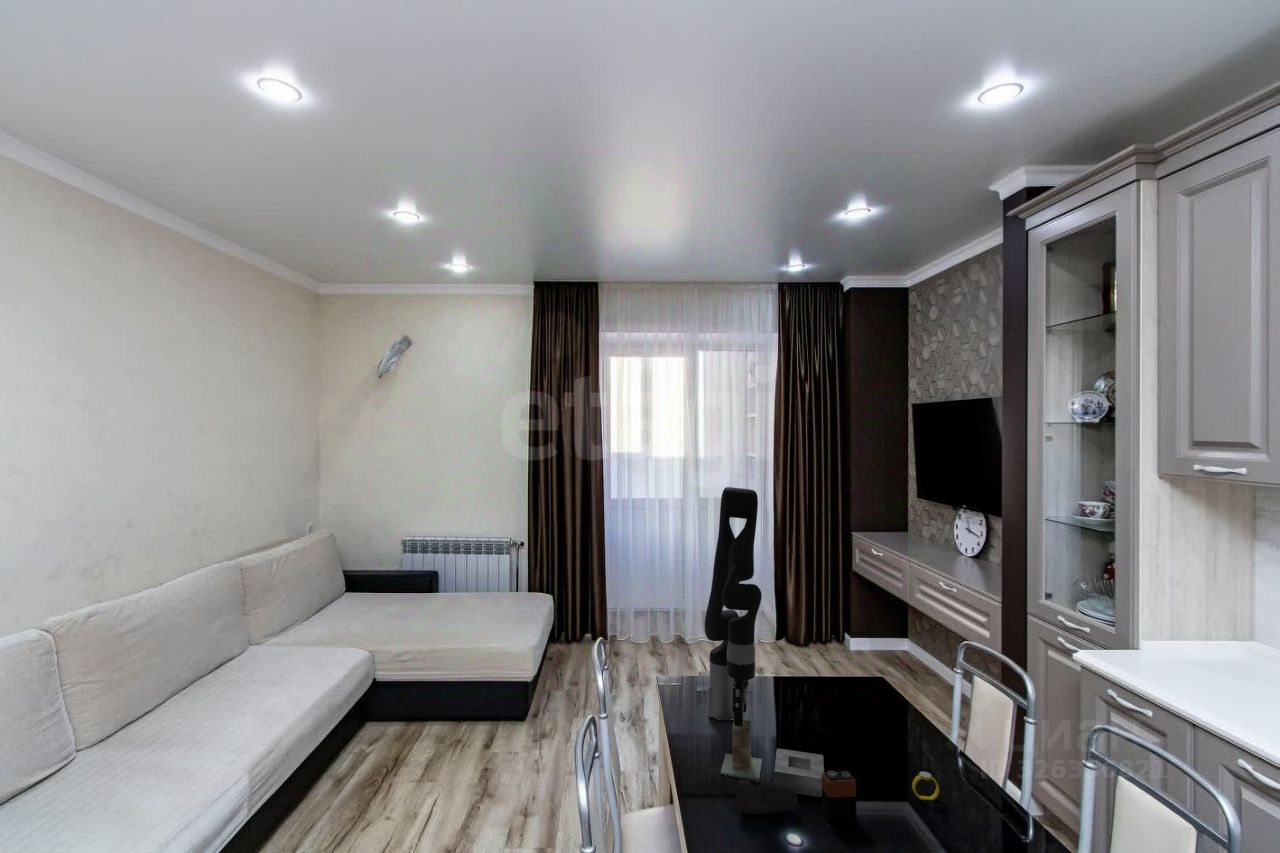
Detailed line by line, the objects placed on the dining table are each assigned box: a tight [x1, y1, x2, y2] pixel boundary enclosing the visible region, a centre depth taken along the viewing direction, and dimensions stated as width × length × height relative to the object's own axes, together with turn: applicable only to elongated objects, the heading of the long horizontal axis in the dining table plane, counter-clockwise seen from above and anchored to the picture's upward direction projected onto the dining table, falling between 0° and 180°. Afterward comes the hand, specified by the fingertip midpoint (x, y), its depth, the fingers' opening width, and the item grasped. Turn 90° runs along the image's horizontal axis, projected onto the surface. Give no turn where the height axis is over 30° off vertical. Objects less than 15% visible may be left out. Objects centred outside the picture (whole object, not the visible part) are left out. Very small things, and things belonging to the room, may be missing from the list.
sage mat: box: [720, 753, 763, 780], centre depth 157 cm, size 10×10×1 cm
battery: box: [821, 770, 857, 823], centre depth 137 cm, size 4×7×10 cm, turn 95°
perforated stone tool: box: [735, 779, 799, 816], centre depth 138 cm, size 15×5×7 cm, turn 90°
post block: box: [773, 748, 825, 798], centre depth 151 cm, size 12×12×4 cm
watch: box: [911, 771, 940, 801], centre depth 144 cm, size 6×3×6 cm, turn 84°
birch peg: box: [731, 719, 752, 771], centre depth 157 cm, size 4×4×11 cm
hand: (740, 718), depth 158 cm, fingers open, 8 cm apart
